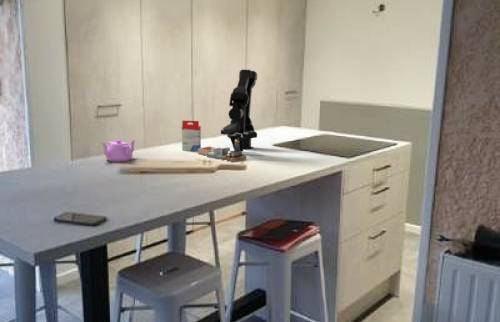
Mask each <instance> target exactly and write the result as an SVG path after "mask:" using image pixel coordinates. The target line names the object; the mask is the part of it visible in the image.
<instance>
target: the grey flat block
mask: <svg viewBox="0 0 500 322" xmlns="http://www.w3.org/2000/svg"><path fill="white" fill-rule="evenodd" d="M221 148H222V147H219V146H218V147H214V148H212V149H211V152H209V153H208V154H207V156H206V158H210V159H214V158H215V160H219V159H222V155H220V149H221ZM223 156H226V155H223Z"/></svg>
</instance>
